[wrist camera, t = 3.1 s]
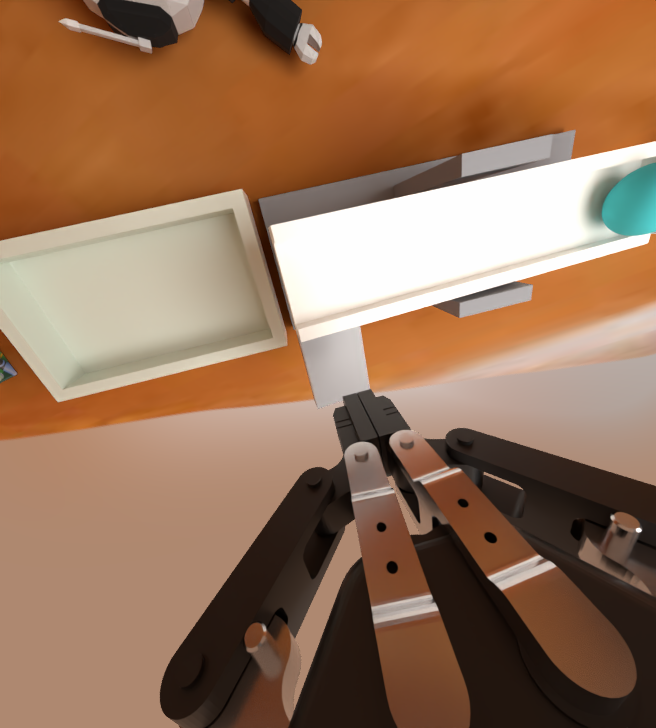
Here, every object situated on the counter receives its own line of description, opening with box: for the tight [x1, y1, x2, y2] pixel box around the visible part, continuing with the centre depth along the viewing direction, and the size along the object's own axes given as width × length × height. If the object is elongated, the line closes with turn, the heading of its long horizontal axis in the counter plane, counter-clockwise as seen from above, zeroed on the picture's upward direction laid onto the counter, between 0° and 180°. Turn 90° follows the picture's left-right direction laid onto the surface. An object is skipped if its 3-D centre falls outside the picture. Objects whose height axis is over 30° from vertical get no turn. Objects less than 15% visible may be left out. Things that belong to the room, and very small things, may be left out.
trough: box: [268, 141, 656, 409], centre depth 19 cm, size 12×26×6 cm, turn 101°
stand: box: [258, 130, 575, 329], centre depth 21 cm, size 11×27×10 cm, turn 101°
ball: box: [602, 162, 656, 236], centre depth 17 cm, size 4×4×4 cm
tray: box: [0, 189, 287, 402], centre depth 23 cm, size 12×20×4 cm, turn 101°
